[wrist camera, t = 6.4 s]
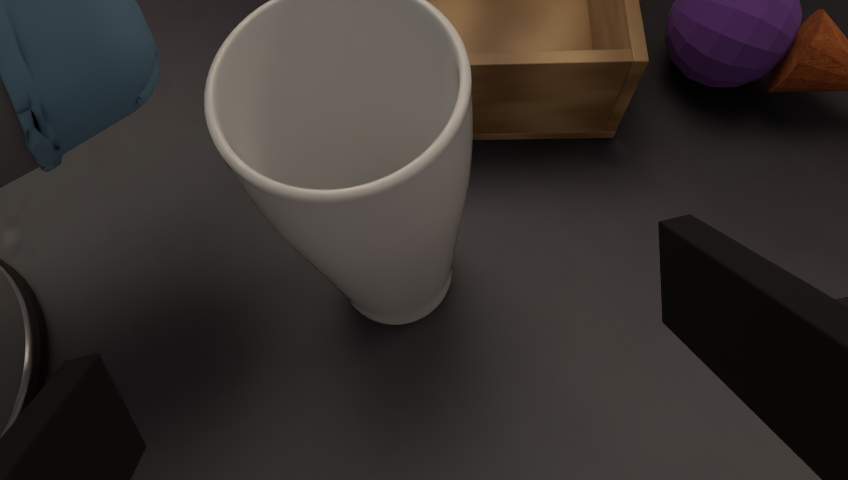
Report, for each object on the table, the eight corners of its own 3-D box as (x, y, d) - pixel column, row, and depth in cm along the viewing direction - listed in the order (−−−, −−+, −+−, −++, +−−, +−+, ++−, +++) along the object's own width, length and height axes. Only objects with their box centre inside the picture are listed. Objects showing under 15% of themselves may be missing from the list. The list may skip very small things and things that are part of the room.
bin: (362, 142, 30) (341, 68, 25) (375, -40, 36) (359, -135, 30) (613, 138, 30) (649, 60, 24) (589, -47, 35) (615, -147, 29)
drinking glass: (494, 294, 27) (532, 108, 13) (372, 371, 26) (271, 258, 12) (420, 189, 29) (385, -64, 15) (306, 255, 28) (156, 49, 14)
